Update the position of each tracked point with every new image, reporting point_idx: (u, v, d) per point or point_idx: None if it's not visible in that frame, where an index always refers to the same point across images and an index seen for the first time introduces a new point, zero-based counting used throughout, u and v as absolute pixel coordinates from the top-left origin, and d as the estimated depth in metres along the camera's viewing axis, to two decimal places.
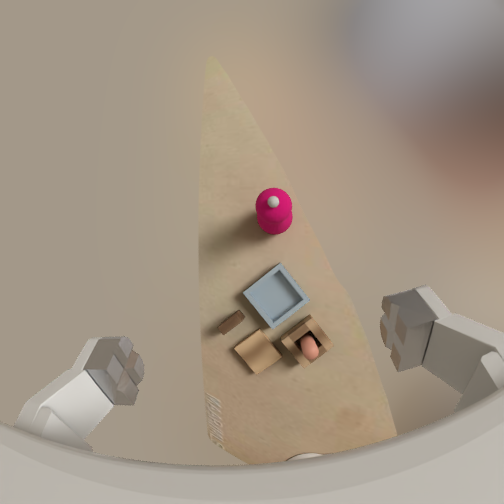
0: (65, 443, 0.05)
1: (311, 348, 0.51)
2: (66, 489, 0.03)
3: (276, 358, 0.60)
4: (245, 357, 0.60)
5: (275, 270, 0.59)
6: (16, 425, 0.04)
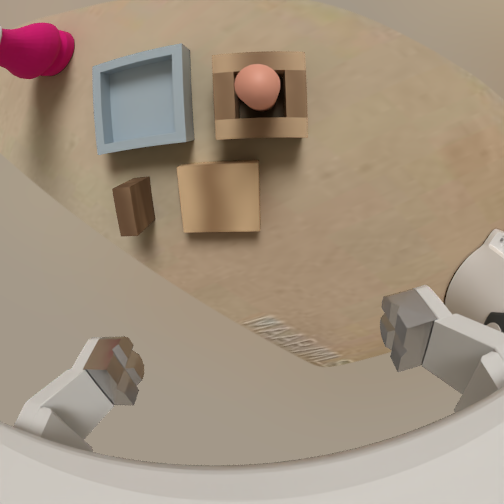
0: (65, 443, 0.05)
1: (246, 77, 0.16)
2: (66, 489, 0.03)
3: (252, 174, 0.27)
4: (212, 225, 0.29)
5: (97, 80, 0.22)
6: (16, 425, 0.04)
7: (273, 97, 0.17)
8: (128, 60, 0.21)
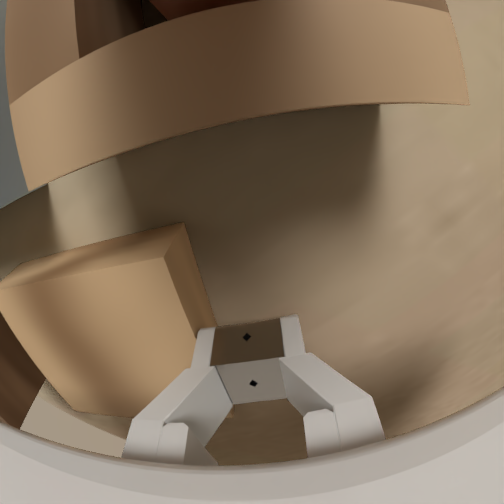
0: (201, 463, 0.05)
1: None
2: (66, 489, 0.03)
3: (159, 297, 0.07)
4: (118, 408, 0.10)
5: None
6: (127, 455, 0.04)
7: None
8: None
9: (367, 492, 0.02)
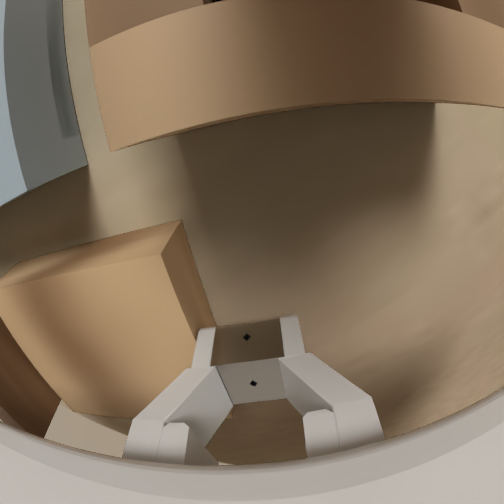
0: (201, 463, 0.05)
1: None
2: (66, 489, 0.03)
3: (156, 295, 0.07)
4: (116, 409, 0.09)
5: None
6: (127, 455, 0.04)
7: None
8: None
9: (367, 492, 0.02)
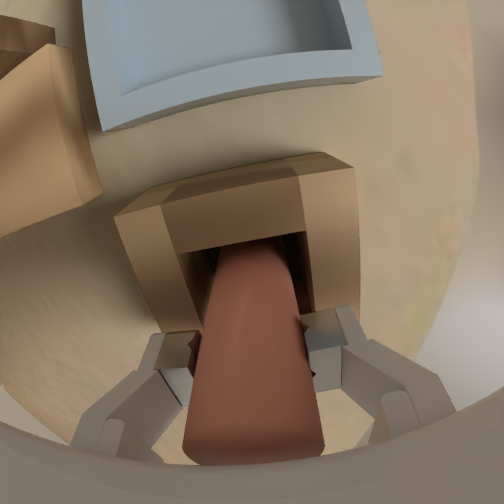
0: (139, 458, 0.05)
1: (276, 440, 0.05)
2: (66, 489, 0.03)
3: (61, 201, 0.11)
4: None
5: None
6: (74, 444, 0.04)
7: None
8: None
9: (367, 492, 0.02)
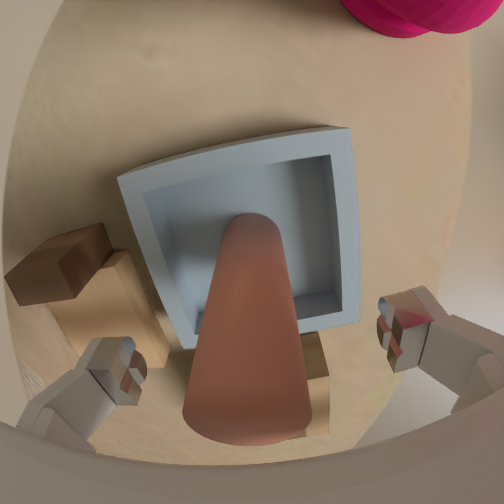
0: (68, 444, 0.05)
1: (267, 404, 0.05)
2: (66, 489, 0.03)
3: (147, 363, 0.18)
4: (62, 319, 0.16)
5: (310, 147, 0.11)
6: (18, 426, 0.04)
7: (220, 440, 0.06)
8: (347, 229, 0.12)
9: (367, 492, 0.02)
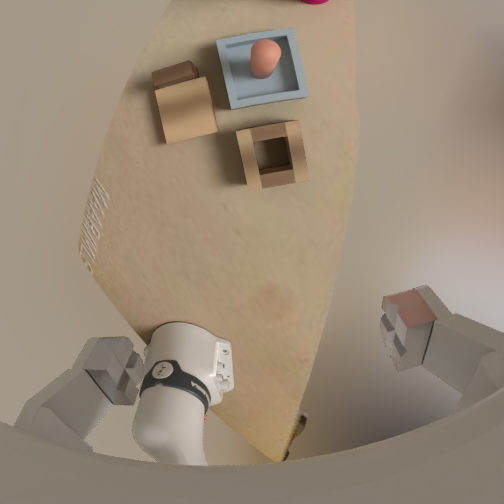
0: (65, 443, 0.05)
1: (270, 45, 0.23)
2: (66, 489, 0.03)
3: (208, 130, 0.35)
4: (163, 110, 0.34)
5: (280, 33, 0.28)
6: (16, 425, 0.04)
7: (258, 62, 0.24)
8: (295, 57, 0.30)
9: (367, 492, 0.02)
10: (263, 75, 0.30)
